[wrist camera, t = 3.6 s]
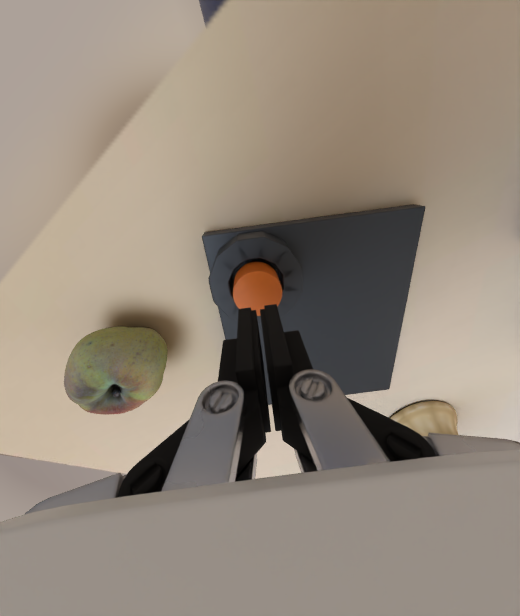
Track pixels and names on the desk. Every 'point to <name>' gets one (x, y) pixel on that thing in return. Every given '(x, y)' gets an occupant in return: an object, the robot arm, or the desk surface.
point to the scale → (329, 286)
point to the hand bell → (428, 418)
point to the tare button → (256, 286)
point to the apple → (115, 369)
